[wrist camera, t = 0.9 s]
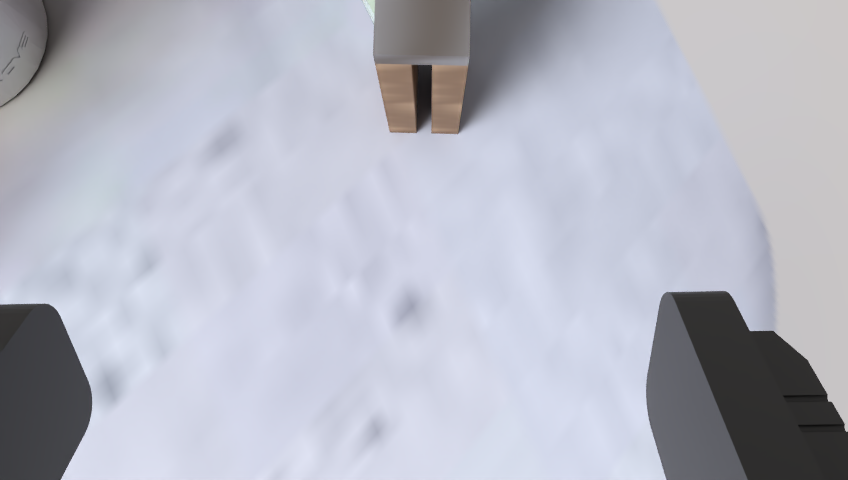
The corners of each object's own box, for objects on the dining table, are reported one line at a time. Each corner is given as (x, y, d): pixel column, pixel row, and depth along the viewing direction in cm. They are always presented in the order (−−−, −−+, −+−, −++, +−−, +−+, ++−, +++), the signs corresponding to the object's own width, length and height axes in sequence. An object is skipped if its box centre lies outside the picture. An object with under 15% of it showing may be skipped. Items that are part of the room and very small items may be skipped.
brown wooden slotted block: (389, 132, 38) (373, 54, 27) (392, 59, 39) (376, -48, 28) (458, 133, 38) (469, 56, 27) (459, 60, 39) (471, -46, 28)
